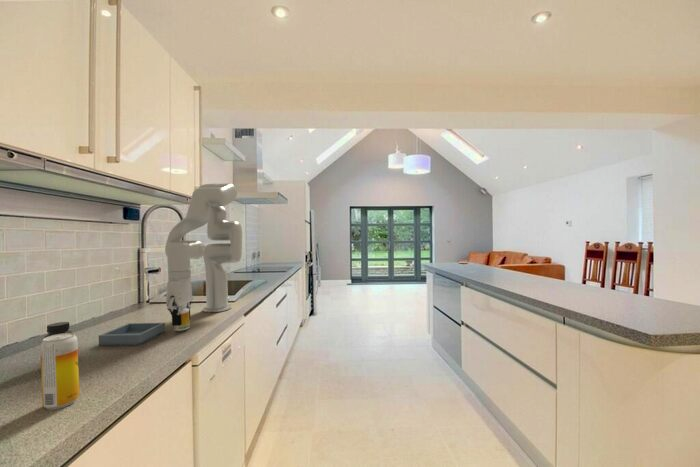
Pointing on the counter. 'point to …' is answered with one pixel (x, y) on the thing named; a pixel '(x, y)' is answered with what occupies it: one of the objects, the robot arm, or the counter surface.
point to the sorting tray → (131, 334)
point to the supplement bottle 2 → (183, 319)
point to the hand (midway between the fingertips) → (181, 322)
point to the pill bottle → (59, 370)
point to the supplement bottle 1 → (57, 329)
